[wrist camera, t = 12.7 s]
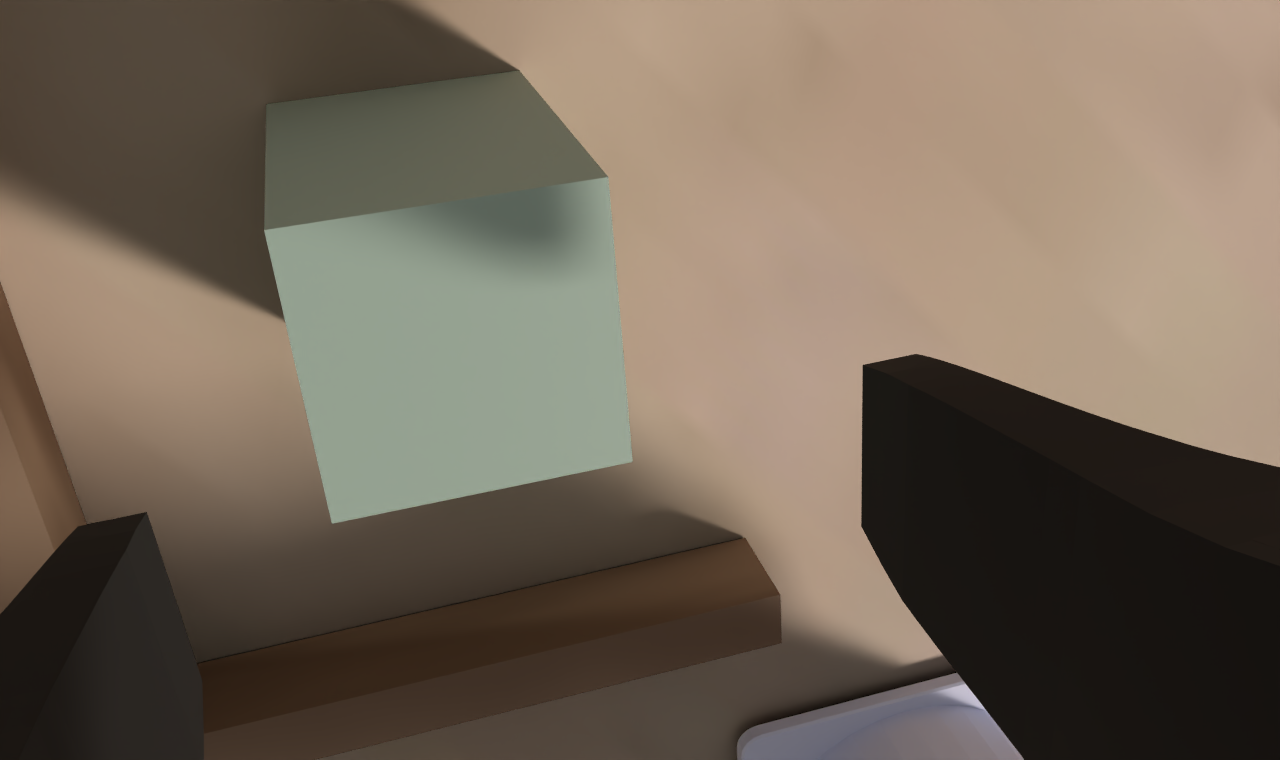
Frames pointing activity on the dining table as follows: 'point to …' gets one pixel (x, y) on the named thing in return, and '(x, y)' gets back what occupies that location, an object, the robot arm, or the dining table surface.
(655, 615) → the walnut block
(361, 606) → the dining table surface
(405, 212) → the sage block
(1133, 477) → the robot arm
